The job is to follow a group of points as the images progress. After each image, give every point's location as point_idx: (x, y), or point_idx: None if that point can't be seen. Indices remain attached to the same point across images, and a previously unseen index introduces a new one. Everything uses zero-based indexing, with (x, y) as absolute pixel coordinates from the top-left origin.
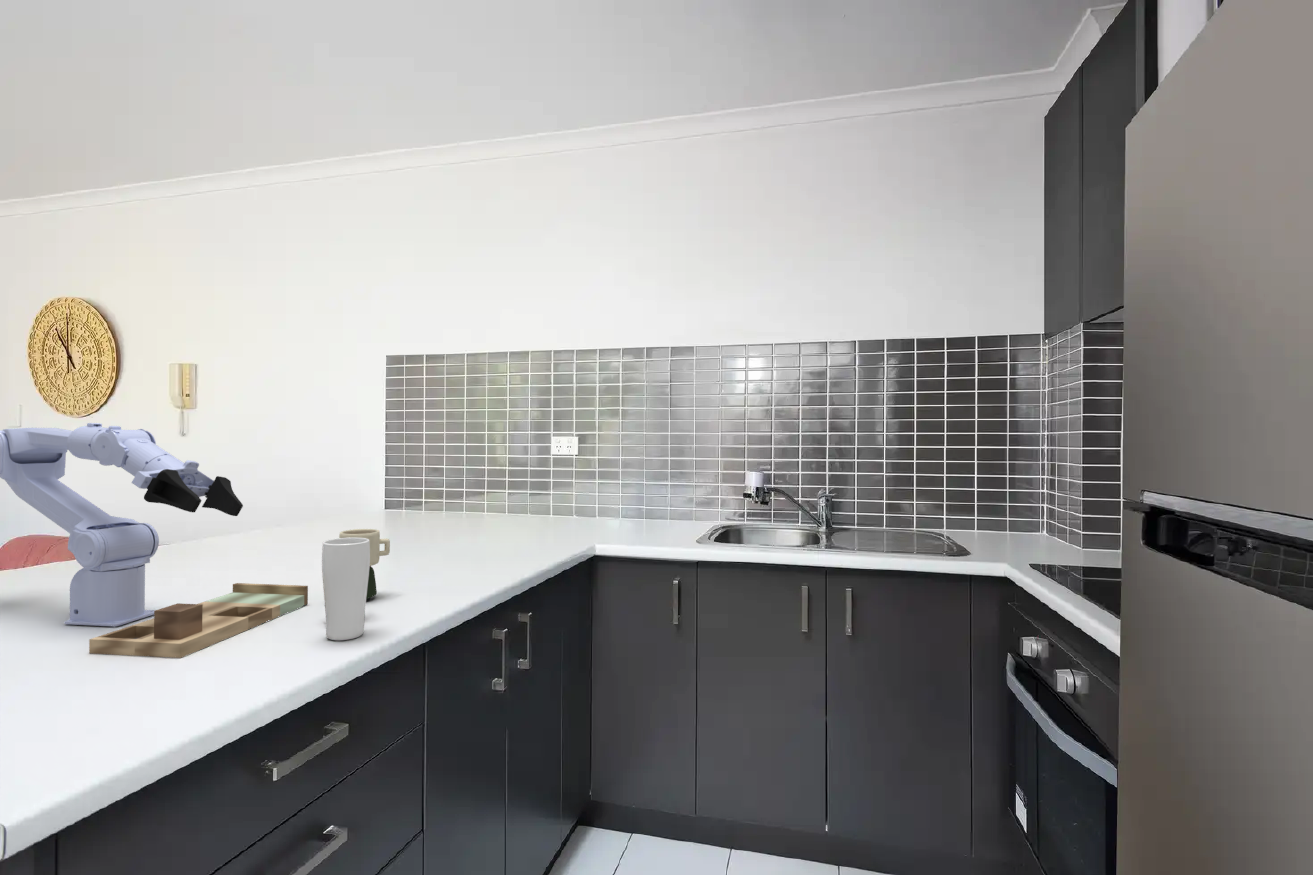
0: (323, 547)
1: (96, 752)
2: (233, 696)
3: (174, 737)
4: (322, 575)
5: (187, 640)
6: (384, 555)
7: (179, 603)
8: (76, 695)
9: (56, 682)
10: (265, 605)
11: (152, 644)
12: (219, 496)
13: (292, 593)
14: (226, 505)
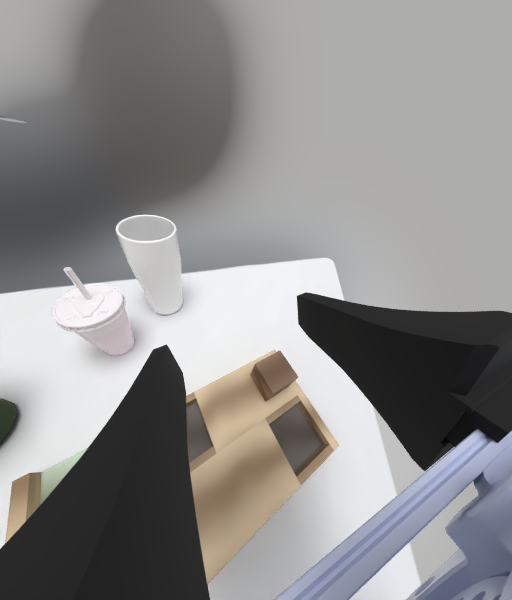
0: (174, 238)
1: (317, 273)
2: (268, 277)
3: (295, 264)
4: (176, 268)
5: (268, 354)
6: None
7: (271, 391)
8: None
9: (342, 370)
10: None
11: None
12: (165, 473)
13: (37, 504)
14: (175, 409)
